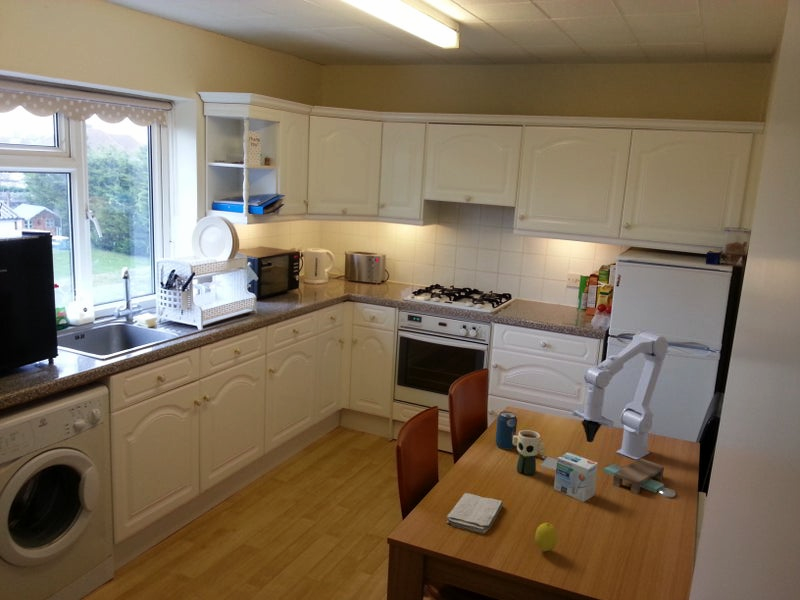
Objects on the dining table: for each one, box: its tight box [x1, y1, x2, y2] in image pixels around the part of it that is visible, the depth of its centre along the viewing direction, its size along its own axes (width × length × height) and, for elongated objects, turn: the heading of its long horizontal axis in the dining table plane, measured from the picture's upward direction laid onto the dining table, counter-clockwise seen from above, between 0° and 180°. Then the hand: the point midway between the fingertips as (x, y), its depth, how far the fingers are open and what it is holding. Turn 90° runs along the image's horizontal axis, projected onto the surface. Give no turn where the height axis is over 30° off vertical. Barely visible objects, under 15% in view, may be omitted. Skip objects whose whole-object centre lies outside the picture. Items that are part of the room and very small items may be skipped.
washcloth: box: [446, 492, 503, 534], centre depth 186 cm, size 12×18×3 cm, turn 158°
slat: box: [603, 463, 665, 494], centre depth 214 cm, size 6×18×2 cm, turn 43°
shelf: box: [612, 457, 665, 495], centre depth 212 cm, size 18×8×4 cm, turn 134°
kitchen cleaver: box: [535, 453, 557, 471], centre depth 222 cm, size 24×1×10 cm
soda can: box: [495, 410, 518, 450], centre depth 234 cm, size 7×7×12 cm
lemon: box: [534, 522, 558, 553], centre depth 169 cm, size 6×6×8 cm
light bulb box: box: [553, 451, 599, 503], centre depth 202 cm, size 11×7×11 cm, turn 47°
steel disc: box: [657, 487, 676, 499], centre depth 205 cm, size 5×5×1 cm
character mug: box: [513, 429, 546, 475], centre depth 214 cm, size 11×7×13 cm, turn 59°
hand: (589, 441), depth 223 cm, fingers closed
